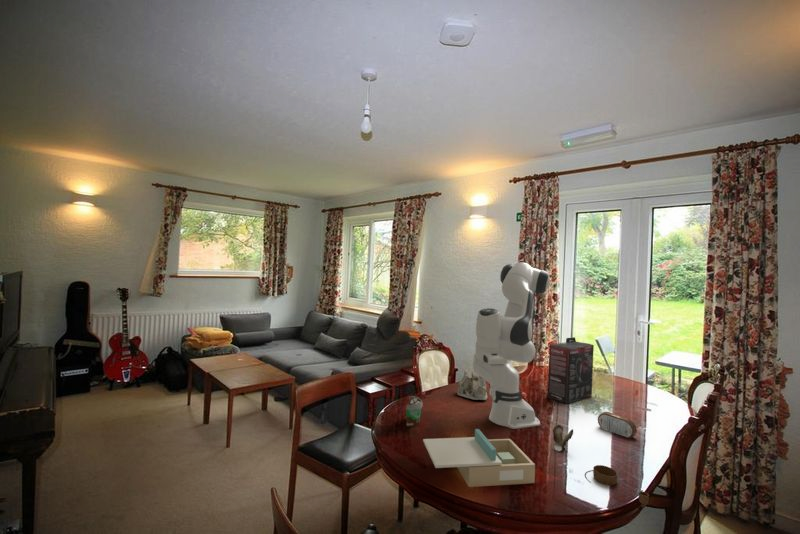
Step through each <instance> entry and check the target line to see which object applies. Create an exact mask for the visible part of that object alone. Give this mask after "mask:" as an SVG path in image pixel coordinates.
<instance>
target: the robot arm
mask: <svg viewBox="0 0 800 534" xmlns="http://www.w3.org/2000/svg"><path fill="white" fill-rule="evenodd" d="M499 274H500V275H499V279H500V282H501V284H502V285H501V292H502V294H503V296H504V297H505V298H506V299H507V300H508V302H507V305H506V308H505V312H504V315H503V316H502V315H500V311H499V310H498V309H497V308H496V309H495V308H489V307H488V308H482V309H480V310H479V311H478V313H477V317H476V323H475V324H476V325H475V326H476V327H475V334H476V341H475V353H474V354H473V363H472V369H473V371H475V372H476V373H477V374H478V379H479V386H480V387H485V382H487V383H488V384H489V387H490V389H489V390H488V394H489V395H490V397H492V398H491V399H492V402H491V410H490V413H489V416H488V420H489V421H490V422H492V423H494V424H496V425H497V426H498V425H499V426H501V427H507V428H509V429H512V430H513V429H514V430H515V429H523V428H532V427H536V426H537V427H538V426H540V425H541V421H540V420H539V418H538V417H537V416H536V415H535V410H534V408H533V407H532V406H531V405H530V404H529V403H528V402H527V401H525V399H526V398H527V395H528V394H527V393H526V392H522V390H520V373H519V371H518V370H517V369H516V368H515V367H514V366H513V364H512V362H515V363H522V364H524V363H525V364H526V363H527V364H528V363H530V362H532V361H533V360H534V358H535V356H536V347H535V344H534V343H533V341H532V337H533V323H534V321H533V320H534V312H535V305H536V304H535V297H539V295H542V294H544V293H545V292H546V291H547V290H548V288H549V287H550V284H551V277H550V274H549V272H548V271H546V270H543V269H539V268H535V267H532V266H531V265H530V264H529V263H526V262H523V261H522V262H521V261H519V262H516V263H515V264H512V263H511V264H505V265H503V267H502V268H501V271H500V273H499ZM511 361H512V362H511ZM484 381H485V382H484ZM523 398H524V399H523Z"/></svg>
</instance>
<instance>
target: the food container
mask: <svg viewBox="0 0 800 534" xmlns="http://www.w3.org/2000/svg"><path fill="white" fill-rule="evenodd" d="M423 406H424V404H423V400H422V399H421V398H420V397H418V396H416V395H415V396H414V395H411V396H410V400H409V401H408V404H406V423H405V424H406V425H405V426H406V427H408V428H413V427H417V426H419V425H420V422H421V412H422V408H423Z"/></svg>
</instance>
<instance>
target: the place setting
mask: <svg viewBox="0 0 800 534" xmlns="http://www.w3.org/2000/svg"><path fill="white" fill-rule="evenodd" d="M590 472H592V475H593V478H594V480H595V481H596V482H598V483H599V484H602V485H605V486H615V485H616V484H617V482H618V472H617V471H616V470H615V469H613V468H612V467H609V466H606V465H601V464H597V465H594V466H593V469H591V470H588V471H585V473H584V478H585V479H586V481H588V482H589V483H592V482H591V481H590V480H589V479H588V477H587V476H586V475H587V473H590ZM649 499H650V495H649V493H647V492H645V491H638V501H639V502H640V504H641V508H643V509H645V508H646V506H647V505H648V504H649Z"/></svg>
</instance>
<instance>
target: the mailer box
mask: <svg viewBox="0 0 800 534" xmlns="http://www.w3.org/2000/svg"><path fill="white" fill-rule="evenodd" d="M487 439H488V440H489V442H490V443H491V444H492V445H493V446H494V448H495V449H496V456H497V453H501V452H509V453H510V454H511V455H512V456H513V457H514V458H515V464H502V465H488V466H467V467H456V468H457V470H458V471H459V473H460V475H461V477H462V479H464V481H465V484H466V485H467V487H469V488H476V487H489V486H490V487H491V486H493V487H494V486H509V485H525V484H527V485H528V484H535V479H536V478H535V477H536V463H534V462H533V460H531V458H530V457H529V456H527V454H526V453H524V452H523V450H522V449H521V448H519V446H518V445H517V444H516V443H515V442H514V441H513V440H512V438H492V439H489V438H487Z"/></svg>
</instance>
